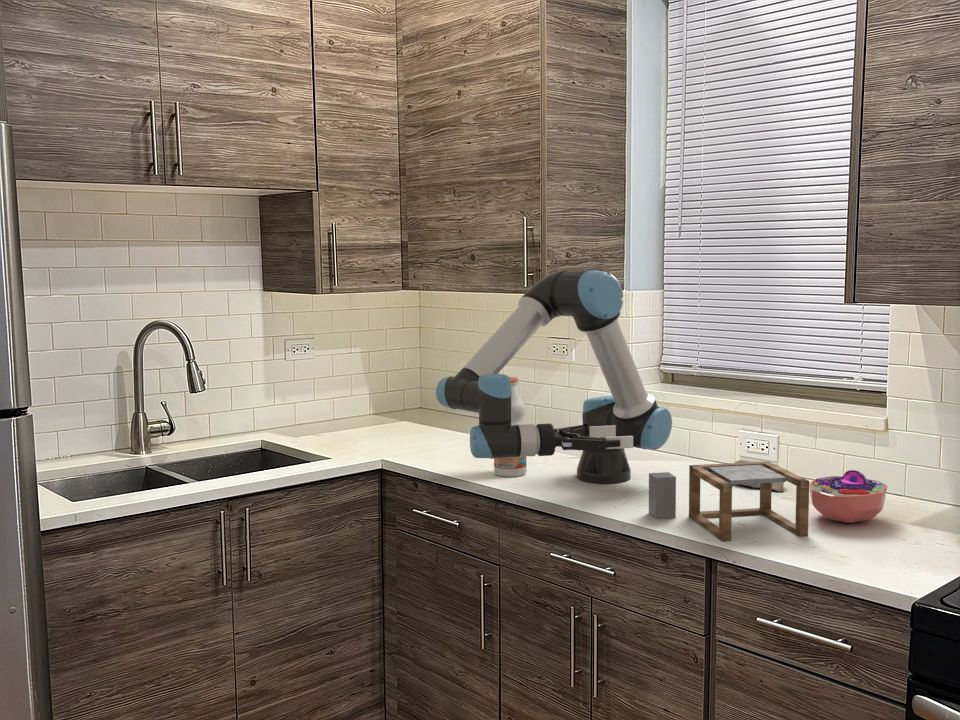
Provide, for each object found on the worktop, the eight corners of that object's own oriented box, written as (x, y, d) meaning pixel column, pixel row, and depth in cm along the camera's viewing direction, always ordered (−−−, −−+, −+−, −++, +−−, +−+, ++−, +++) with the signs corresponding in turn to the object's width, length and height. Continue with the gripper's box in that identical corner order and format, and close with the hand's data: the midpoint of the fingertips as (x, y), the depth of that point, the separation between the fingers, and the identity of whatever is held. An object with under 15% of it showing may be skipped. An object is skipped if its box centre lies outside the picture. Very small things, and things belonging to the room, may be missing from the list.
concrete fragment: (778, 494, 243) (778, 468, 242) (723, 484, 254) (723, 460, 253) (791, 488, 249) (792, 463, 248) (737, 479, 260) (737, 455, 259)
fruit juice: (490, 471, 274) (489, 376, 270) (522, 469, 275) (521, 375, 272) (498, 478, 264) (497, 380, 261) (530, 476, 266) (529, 379, 263)
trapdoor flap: (704, 471, 220) (704, 467, 220) (761, 468, 223) (762, 464, 222) (728, 484, 207) (728, 480, 207) (788, 481, 209) (788, 477, 209)
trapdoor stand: (688, 516, 224) (689, 465, 222) (767, 511, 227) (768, 461, 225) (722, 541, 204) (723, 485, 203) (808, 535, 207) (809, 480, 206)
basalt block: (648, 513, 227) (648, 473, 226) (668, 512, 228) (668, 472, 227) (655, 519, 222) (655, 478, 221) (675, 517, 223) (675, 476, 222)
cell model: (790, 519, 220) (791, 472, 219) (837, 505, 232) (839, 460, 231) (856, 536, 206) (858, 486, 205) (903, 519, 218) (905, 472, 217)
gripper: (525, 445, 231) (608, 441, 234) (548, 467, 206) (640, 463, 209) (525, 415, 230) (608, 412, 233) (548, 434, 205) (640, 430, 209)
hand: (623, 436), depth 221 cm, fingers open, 13 cm apart
